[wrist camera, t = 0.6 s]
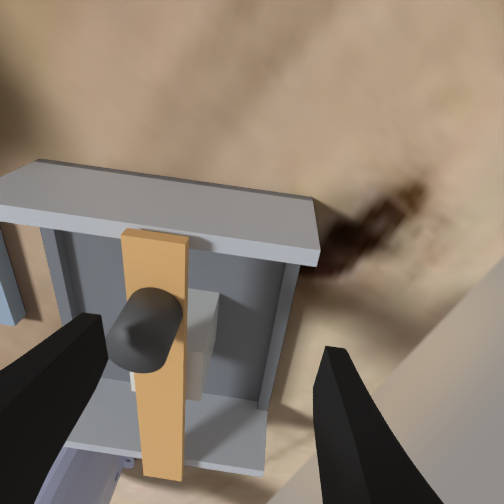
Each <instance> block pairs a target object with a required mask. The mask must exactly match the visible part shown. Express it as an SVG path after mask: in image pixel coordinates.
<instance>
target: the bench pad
mask: <svg viewBox="0 0 504 504" xmlns="http://www.w3.org/2000/svg"><path fill="white" fill-rule="evenodd" d="M25 315H26V313H25V309H24V306H23V303H22V299H21V296H20V293H19V289H18V286H17V283H16V279H15V276H14V273H13V269H12V266H11V263H10V259H9V256H8V253H7V249H6V246H5V243H4V239H3V236H2V233H1V229H0V324H5V325H11V326H16V325H17V324H18V322H19V321H20V320H21V319H22V318H23V317H24V316H25Z"/></svg>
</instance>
